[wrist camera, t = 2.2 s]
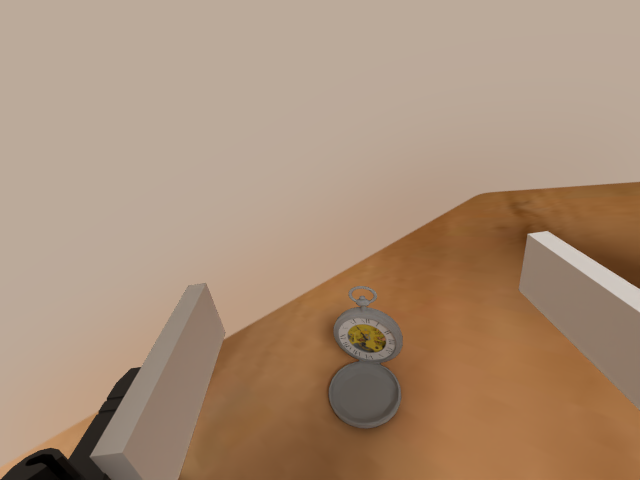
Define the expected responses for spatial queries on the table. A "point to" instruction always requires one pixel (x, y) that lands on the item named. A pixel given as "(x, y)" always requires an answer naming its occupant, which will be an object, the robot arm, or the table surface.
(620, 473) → the table surface
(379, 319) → the pocket watch
